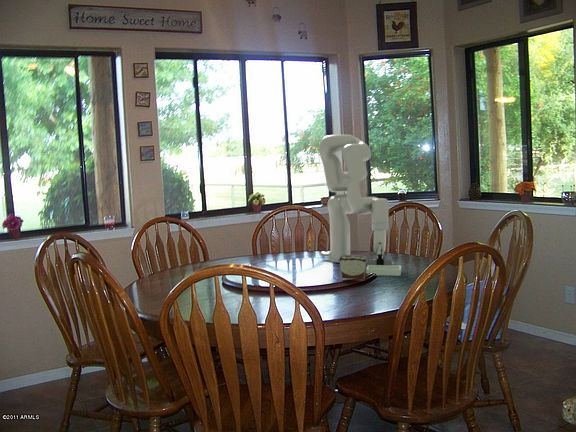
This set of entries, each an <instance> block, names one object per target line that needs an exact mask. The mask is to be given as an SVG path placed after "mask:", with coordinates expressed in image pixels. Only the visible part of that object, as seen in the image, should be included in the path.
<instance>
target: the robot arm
mask: <svg viewBox="0 0 576 432" xmlns="http://www.w3.org/2000/svg"><path fill="white" fill-rule="evenodd" d="M318 152H319V156H320V160H321V162H322V165H323V166H322V167H323V170H324V176H325V182H326V186H327V189H328V191H329V192H331V193H341V194H335V195H332V196H330V197H329V199H328V200H327V210H328V211H327V212H328V217H329V235H330V236H329V238H330V239H329V242H330V245H329V246H330V247H329V248H330V250H329V251H321V252H320V253H321V255H320V256H321V257H327V261H328V262H330V263H340V261H338V259H339V256H343V255H351V225H350V219H349V218H348V216H347V215H349V214H354V215H357V216H360V215H368V214H371V230H372V231H373V253H376V258H375V259H376V262H377V265H384V259H385V252H386V247H387V243H386V242H387V231H389V230H390V229H389V226H390V225H389V224H390V223H389V222H390V221H389V218H390V217H389V215H390V214H389V209H390V208H389V200H388V199H387V198H383V197H381V198H380V197H377V196H367V197H366V196H365V197H362V195H361V189H360V182H361V181H362V180H364V179H366V177H367V176H368V171H367V170H368V169H367V167H366V165H365V162H367V161H369V160H370V159H371V156H372V151H371V148H370V146H369V145H368V144H367V143H365V142H364V141H363V140H361V139H359V138H357V137H356V136H355V135H352V134H330V135H326V136H323V138H322V139H321V141H320V142H319V145H318ZM337 153H340V154H341V155H342V160H343V161H344V166H345V169H346V171H344V170H343V167H342V162H341V160H340V159H339V157H338V156H337V155H336V154H337ZM342 192H343V194H342Z"/></svg>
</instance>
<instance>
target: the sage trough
mask: <svg viewBox="0 0 576 432" xmlns="http://www.w3.org/2000/svg"><path fill="white" fill-rule="evenodd" d="M366 273H375V274H376V275H375V276H395V277H396V276H398V277H399V276H402V264H401V265H399V264H398V265H397V264H396V265H395V264H394V265H369V264H366V269H365V274H366Z"/></svg>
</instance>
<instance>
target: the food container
mask: <svg viewBox="0 0 576 432" xmlns="http://www.w3.org/2000/svg"><path fill="white" fill-rule="evenodd" d="M338 261H340V262H339V268H340V276H341V279H342V278H361V279H365V278H366V268H367V263H368V264H369V260H368V258H367V256H366V255H363V254H362V255H361V254H350V255H343V256H339V259H338Z"/></svg>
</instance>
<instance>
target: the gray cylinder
mask: <svg viewBox="0 0 576 432" xmlns="http://www.w3.org/2000/svg"><path fill="white" fill-rule="evenodd" d="M376 259H377V258H369V259H368V265H377V262H376ZM384 265H395V263H394V261H393V258H384Z"/></svg>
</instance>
